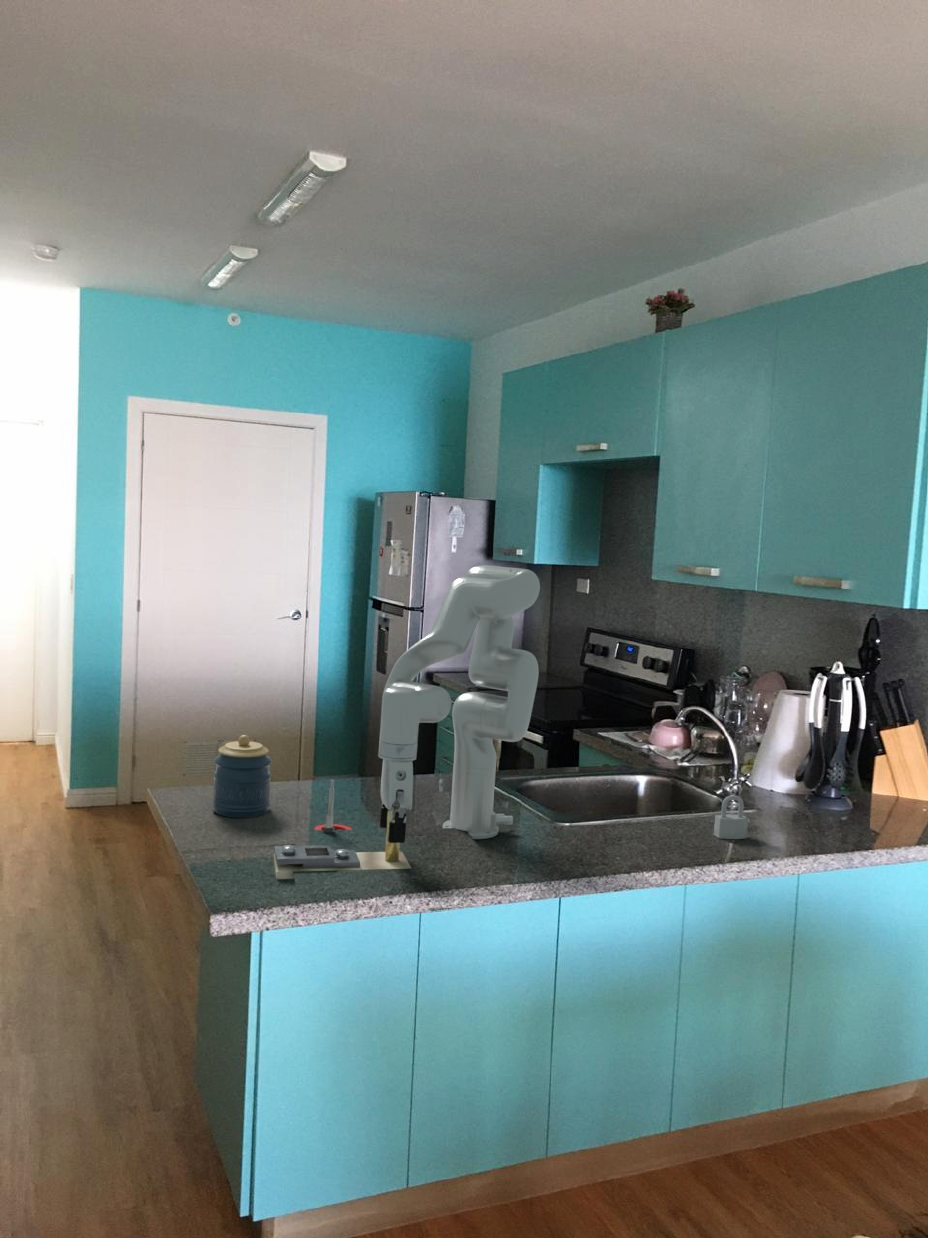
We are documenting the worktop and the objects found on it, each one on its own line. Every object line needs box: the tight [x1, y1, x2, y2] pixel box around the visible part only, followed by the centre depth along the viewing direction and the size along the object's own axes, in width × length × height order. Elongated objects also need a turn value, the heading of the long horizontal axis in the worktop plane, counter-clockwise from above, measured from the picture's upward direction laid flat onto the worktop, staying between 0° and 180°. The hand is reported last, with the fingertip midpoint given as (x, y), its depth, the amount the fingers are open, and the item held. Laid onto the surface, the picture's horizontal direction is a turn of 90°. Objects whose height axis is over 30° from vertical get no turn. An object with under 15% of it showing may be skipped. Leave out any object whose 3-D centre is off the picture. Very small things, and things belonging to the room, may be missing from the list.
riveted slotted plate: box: [273, 844, 360, 869], centre depth 203 cm, size 16×8×3 cm, turn 104°
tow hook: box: [314, 779, 353, 834], centre depth 225 cm, size 8×13×9 cm
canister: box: [212, 734, 273, 819], centre depth 237 cm, size 13×13×18 cm
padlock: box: [713, 794, 749, 840], centre depth 241 cm, size 7×4×10 cm, turn 102°
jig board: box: [272, 850, 412, 880], centre depth 204 cm, size 26×10×2 cm, turn 104°
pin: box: [384, 810, 401, 862], centre depth 206 cm, size 3×3×10 cm
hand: (391, 834), depth 206 cm, fingers open, 9 cm apart
